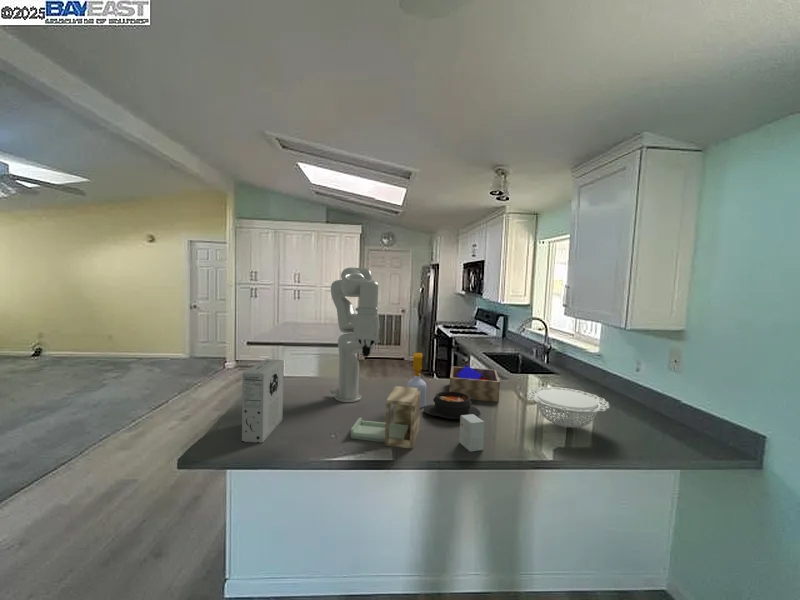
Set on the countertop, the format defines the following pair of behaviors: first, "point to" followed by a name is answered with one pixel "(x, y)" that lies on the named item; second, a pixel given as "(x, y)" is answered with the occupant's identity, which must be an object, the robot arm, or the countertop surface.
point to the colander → (567, 405)
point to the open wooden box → (476, 385)
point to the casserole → (451, 405)
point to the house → (470, 374)
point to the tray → (377, 431)
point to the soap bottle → (418, 378)
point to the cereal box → (262, 400)
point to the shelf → (403, 415)
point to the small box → (471, 432)
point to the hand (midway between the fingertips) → (366, 355)
